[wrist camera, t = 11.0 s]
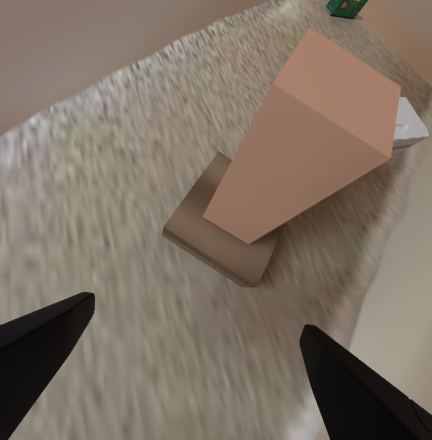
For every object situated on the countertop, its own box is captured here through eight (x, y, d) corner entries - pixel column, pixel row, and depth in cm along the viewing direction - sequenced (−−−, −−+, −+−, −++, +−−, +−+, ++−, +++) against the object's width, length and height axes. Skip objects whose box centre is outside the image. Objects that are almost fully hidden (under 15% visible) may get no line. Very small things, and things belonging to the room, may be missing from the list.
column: (248, 244, 19) (391, 158, 7) (202, 216, 19) (272, 83, 7) (267, 203, 21) (400, 86, 9) (225, 178, 21) (309, 26, 9)
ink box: (320, 158, 31) (410, 93, 20) (333, 188, 30) (434, 136, 19) (273, 165, 28) (349, 91, 17) (286, 198, 27) (375, 142, 16)
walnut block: (239, 286, 22) (257, 287, 19) (161, 236, 21) (163, 226, 18) (273, 215, 26) (293, 204, 23) (209, 170, 25) (218, 151, 22)
